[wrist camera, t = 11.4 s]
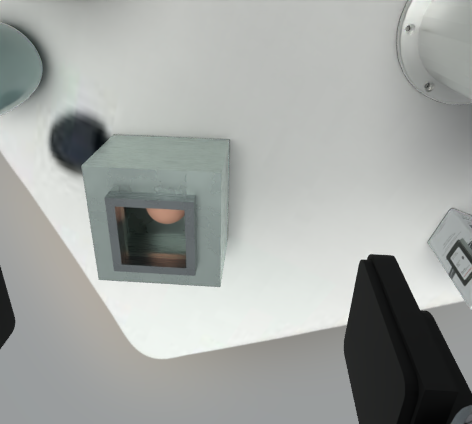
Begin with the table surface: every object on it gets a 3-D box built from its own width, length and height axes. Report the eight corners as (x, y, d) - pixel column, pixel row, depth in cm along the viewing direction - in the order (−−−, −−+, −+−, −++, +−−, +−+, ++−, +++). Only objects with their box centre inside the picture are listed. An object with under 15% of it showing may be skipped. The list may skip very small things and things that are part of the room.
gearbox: (229, 139, 44) (220, 179, 35) (227, 254, 50) (218, 312, 41) (113, 134, 44) (75, 172, 35) (126, 248, 51) (96, 305, 42)
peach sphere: (192, 176, 45) (182, 194, 41) (193, 213, 47) (183, 233, 43) (151, 173, 45) (137, 190, 41) (154, 210, 47) (141, 229, 43)
